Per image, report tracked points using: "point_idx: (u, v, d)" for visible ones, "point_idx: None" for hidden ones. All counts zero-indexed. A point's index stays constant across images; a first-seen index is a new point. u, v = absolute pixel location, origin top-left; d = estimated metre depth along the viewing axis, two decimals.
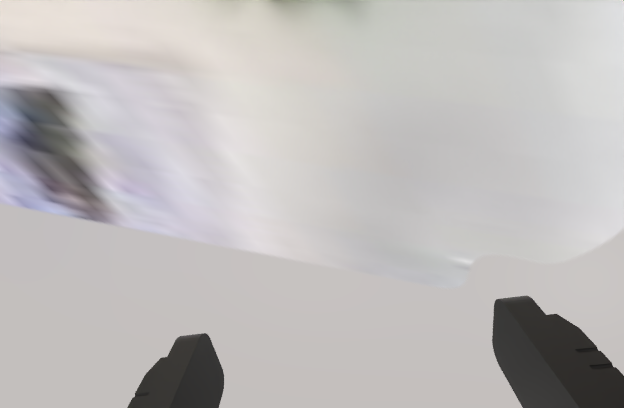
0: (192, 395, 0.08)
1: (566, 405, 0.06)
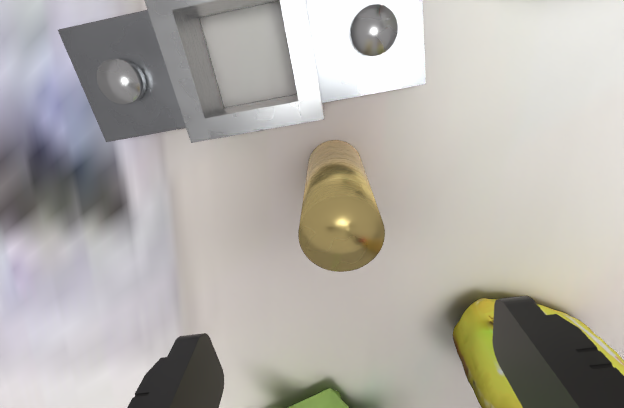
0: (192, 395, 0.08)
1: (566, 405, 0.06)
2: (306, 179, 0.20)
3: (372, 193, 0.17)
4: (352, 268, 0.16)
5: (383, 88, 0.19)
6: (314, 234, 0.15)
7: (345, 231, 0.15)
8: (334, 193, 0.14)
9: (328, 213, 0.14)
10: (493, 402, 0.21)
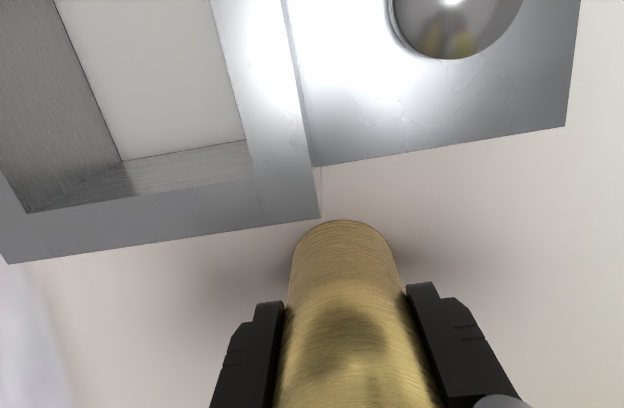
0: None
1: (435, 370, 0.07)
2: (281, 341, 0.09)
3: None
4: None
5: (461, 135, 0.08)
6: None
7: None
8: None
9: None
10: None
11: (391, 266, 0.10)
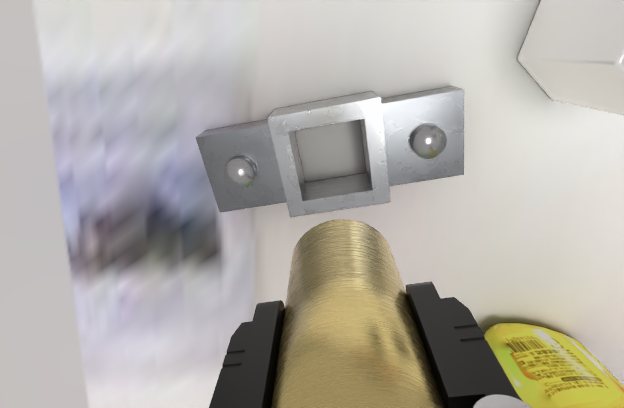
0: None
1: (435, 370, 0.07)
2: (281, 340, 0.09)
3: None
4: None
5: (432, 177, 0.26)
6: None
7: None
8: None
9: None
10: None
11: (391, 265, 0.10)
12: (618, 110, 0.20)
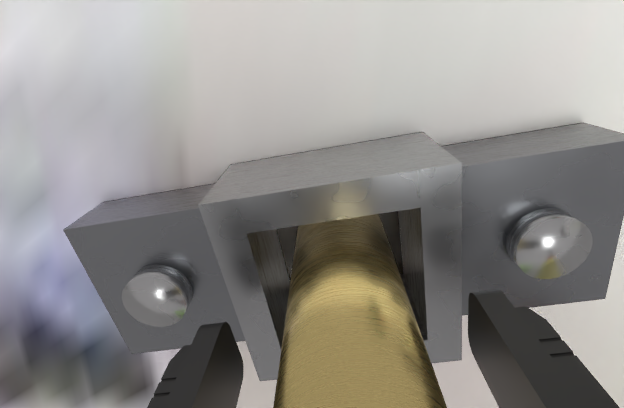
0: (217, 380, 0.09)
1: (526, 390, 0.07)
2: (291, 281, 0.11)
3: (424, 345, 0.08)
4: None
5: (541, 302, 0.13)
6: None
7: None
8: None
9: None
10: None
11: (380, 228, 0.13)
12: None
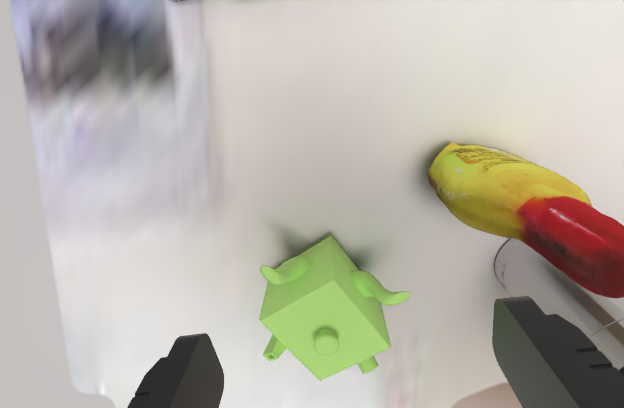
0: (192, 395, 0.08)
1: (566, 405, 0.06)
2: None
3: None
4: None
5: None
6: None
7: None
8: None
9: None
10: (453, 189, 0.28)
11: None
12: None
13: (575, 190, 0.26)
